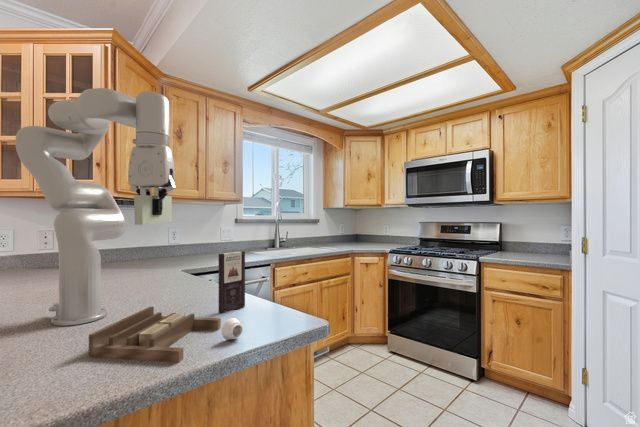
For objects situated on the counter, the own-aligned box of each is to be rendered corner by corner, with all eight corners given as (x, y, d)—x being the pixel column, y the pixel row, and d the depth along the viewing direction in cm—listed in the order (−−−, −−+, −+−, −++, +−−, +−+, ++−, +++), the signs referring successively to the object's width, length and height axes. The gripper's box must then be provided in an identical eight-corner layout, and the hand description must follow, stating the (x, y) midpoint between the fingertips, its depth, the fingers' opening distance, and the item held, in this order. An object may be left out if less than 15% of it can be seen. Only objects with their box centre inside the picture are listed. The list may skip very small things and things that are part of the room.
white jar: (238, 335, 76) (238, 315, 76) (245, 338, 74) (245, 317, 74) (220, 342, 72) (220, 320, 72) (228, 345, 70) (228, 323, 70)
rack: (88, 358, 64) (88, 334, 64) (150, 324, 83) (150, 306, 83) (179, 363, 62) (179, 338, 62) (220, 327, 81) (220, 309, 81)
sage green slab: (165, 221, 85) (134, 224, 73) (164, 196, 85) (134, 195, 73) (172, 221, 85) (142, 224, 73) (171, 196, 84) (141, 195, 73)
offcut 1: (139, 354, 66) (139, 333, 66) (156, 342, 72) (156, 323, 72) (152, 354, 66) (152, 334, 66) (168, 343, 72) (168, 324, 72)
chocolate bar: (220, 313, 93) (220, 254, 93) (218, 312, 93) (218, 254, 93) (244, 306, 100) (244, 251, 100) (243, 306, 100) (243, 251, 100)
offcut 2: (159, 340, 73) (159, 322, 73) (174, 331, 79) (174, 313, 79) (171, 341, 73) (171, 322, 73) (185, 331, 79) (185, 314, 79)
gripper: (113, 140, 75) (112, 215, 75) (173, 138, 73) (173, 215, 73) (134, 147, 83) (134, 215, 83) (189, 145, 81) (189, 215, 81)
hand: (152, 214), depth 78 cm, fingers closed
